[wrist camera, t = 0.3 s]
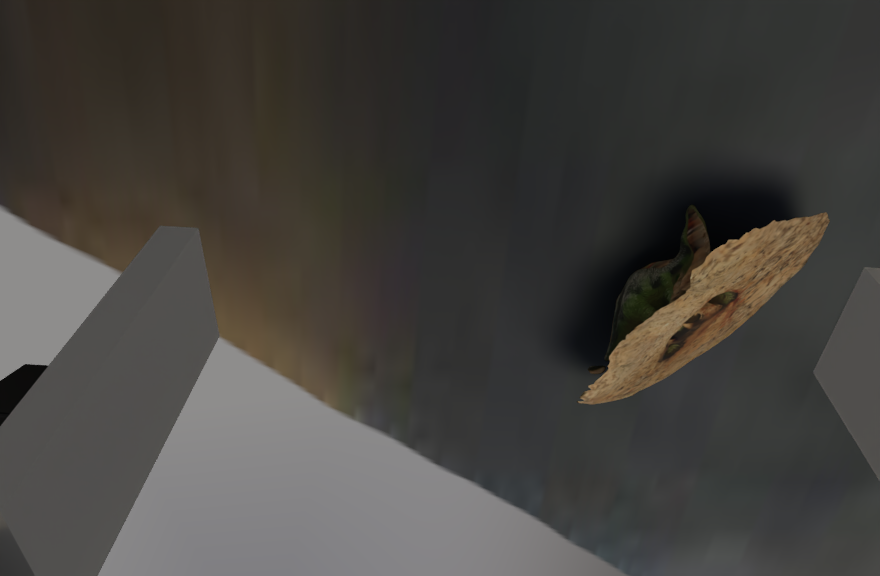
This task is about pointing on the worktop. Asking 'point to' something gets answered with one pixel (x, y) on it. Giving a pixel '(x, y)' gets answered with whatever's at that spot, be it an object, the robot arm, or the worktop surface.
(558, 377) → the worktop surface
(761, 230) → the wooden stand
